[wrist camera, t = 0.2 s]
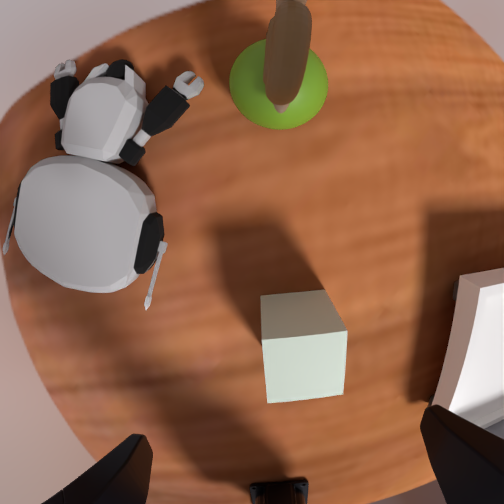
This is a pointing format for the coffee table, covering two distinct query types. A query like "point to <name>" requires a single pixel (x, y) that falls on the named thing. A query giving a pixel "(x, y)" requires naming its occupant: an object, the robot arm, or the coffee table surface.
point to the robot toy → (97, 181)
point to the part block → (302, 346)
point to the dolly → (476, 353)
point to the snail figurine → (280, 72)
